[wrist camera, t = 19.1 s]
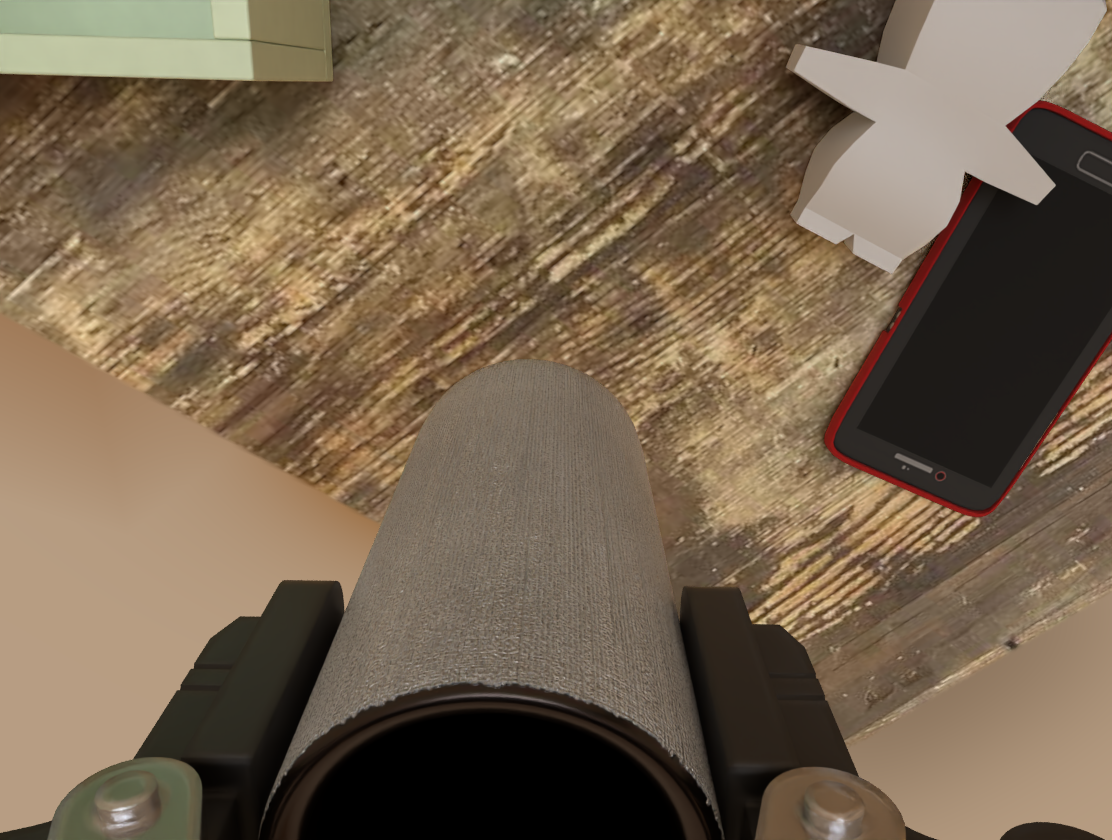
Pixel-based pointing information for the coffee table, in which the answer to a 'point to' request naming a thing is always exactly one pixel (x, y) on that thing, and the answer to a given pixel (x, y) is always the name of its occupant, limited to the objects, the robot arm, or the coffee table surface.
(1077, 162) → the cell phone
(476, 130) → the coffee table surface
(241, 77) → the chest
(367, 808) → the planter
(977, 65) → the bunny figurine
